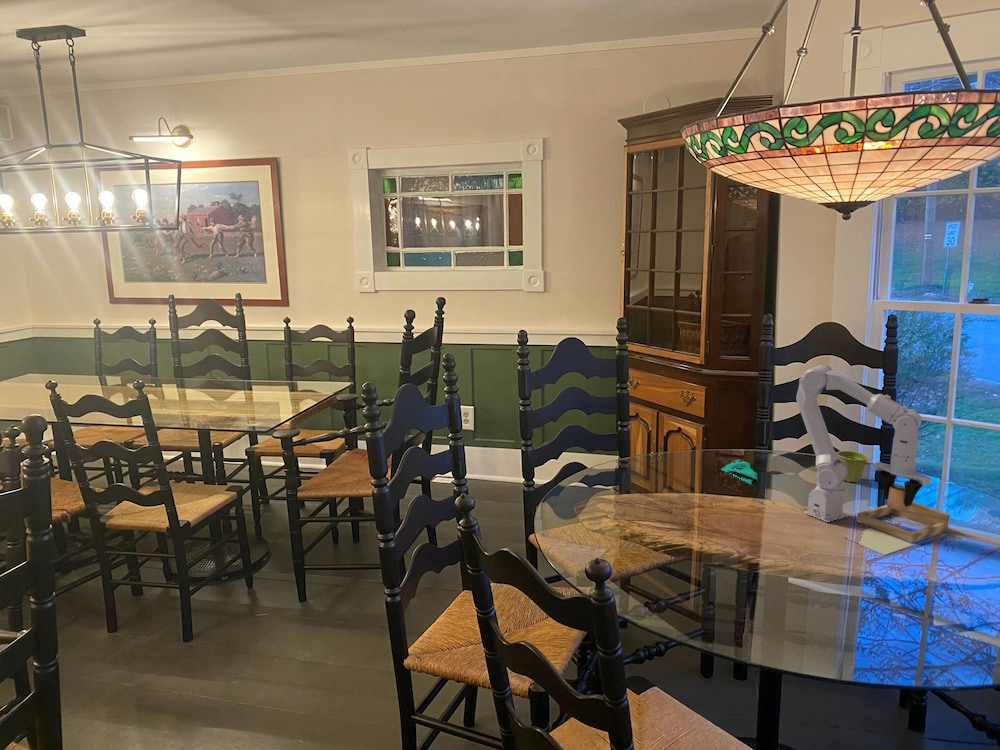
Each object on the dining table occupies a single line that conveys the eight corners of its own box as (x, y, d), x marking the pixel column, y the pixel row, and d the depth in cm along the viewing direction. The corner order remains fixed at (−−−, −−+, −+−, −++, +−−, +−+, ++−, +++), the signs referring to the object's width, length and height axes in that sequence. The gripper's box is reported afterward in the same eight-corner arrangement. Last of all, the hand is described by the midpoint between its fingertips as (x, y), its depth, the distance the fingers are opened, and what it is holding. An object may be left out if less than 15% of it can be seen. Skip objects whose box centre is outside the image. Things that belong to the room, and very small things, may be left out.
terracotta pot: (901, 511, 187) (903, 492, 186) (883, 505, 191) (885, 486, 190) (911, 508, 190) (914, 489, 188) (893, 502, 194) (896, 483, 193)
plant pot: (859, 475, 235) (861, 451, 233) (870, 485, 226) (873, 460, 224) (830, 474, 236) (832, 450, 234) (840, 484, 227) (843, 459, 225)
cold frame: (911, 543, 184) (914, 525, 183) (856, 521, 198) (858, 505, 197) (947, 531, 191) (949, 514, 190) (891, 511, 205) (893, 495, 204)
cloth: (723, 459, 254) (724, 453, 254) (763, 464, 249) (764, 458, 249) (717, 483, 230) (718, 476, 230) (761, 488, 225) (762, 482, 225)
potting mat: (884, 555, 177) (884, 554, 177) (842, 537, 188) (842, 536, 187) (913, 545, 183) (913, 544, 183) (870, 528, 193) (870, 528, 193)
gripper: (939, 459, 183) (933, 508, 186) (887, 445, 195) (881, 490, 198) (924, 464, 180) (917, 513, 182) (871, 449, 192) (866, 495, 195)
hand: (897, 501), depth 190 cm, fingers closed on terracotta pot, 5 cm apart
